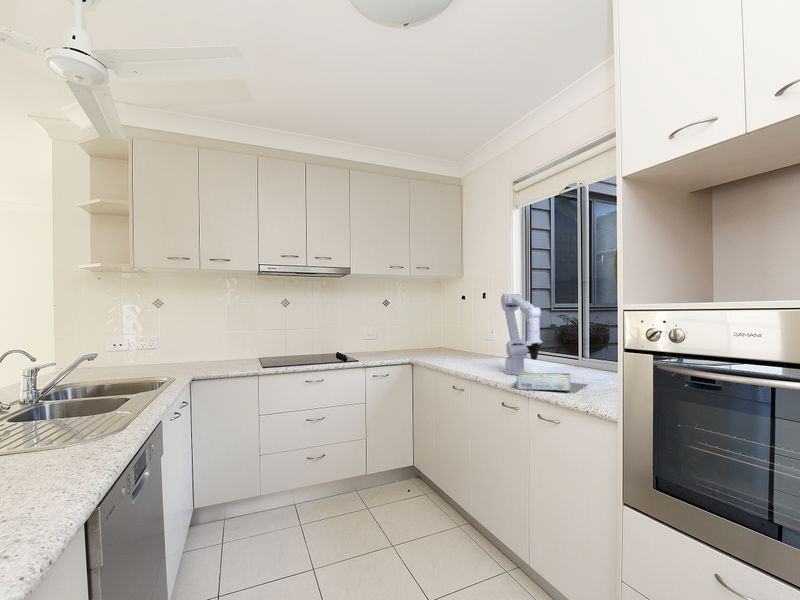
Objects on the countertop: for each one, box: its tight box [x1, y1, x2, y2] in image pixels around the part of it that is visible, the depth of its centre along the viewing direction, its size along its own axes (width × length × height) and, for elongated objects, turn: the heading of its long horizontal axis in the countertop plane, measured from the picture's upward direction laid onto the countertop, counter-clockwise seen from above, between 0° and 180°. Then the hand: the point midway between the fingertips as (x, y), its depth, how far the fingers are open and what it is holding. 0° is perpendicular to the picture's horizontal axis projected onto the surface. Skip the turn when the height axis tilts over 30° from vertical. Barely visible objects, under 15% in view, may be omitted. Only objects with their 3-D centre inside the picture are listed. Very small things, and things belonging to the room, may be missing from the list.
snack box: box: [516, 372, 572, 391], centre depth 163 cm, size 21×6×15 cm
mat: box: [556, 382, 588, 394], centre depth 164 cm, size 12×20×1 cm, turn 139°
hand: (534, 359), depth 181 cm, fingers closed
